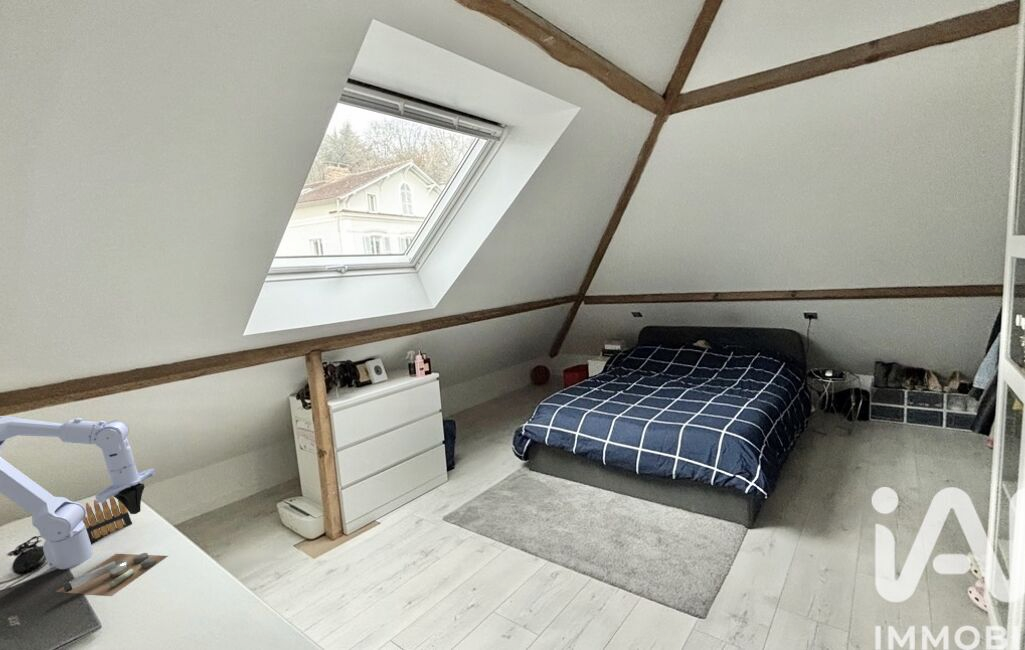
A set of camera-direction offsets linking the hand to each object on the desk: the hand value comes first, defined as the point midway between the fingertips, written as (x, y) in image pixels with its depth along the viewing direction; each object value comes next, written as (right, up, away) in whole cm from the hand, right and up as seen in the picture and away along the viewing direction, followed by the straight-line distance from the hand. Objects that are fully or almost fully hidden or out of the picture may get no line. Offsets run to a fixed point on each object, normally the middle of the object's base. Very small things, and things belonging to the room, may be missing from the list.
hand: (135, 512), depth 131 cm
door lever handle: (+4, -10, -16) cm, 20 cm away
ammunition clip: (-14, -10, +9) cm, 20 cm away
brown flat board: (+5, -11, -13) cm, 18 cm away
